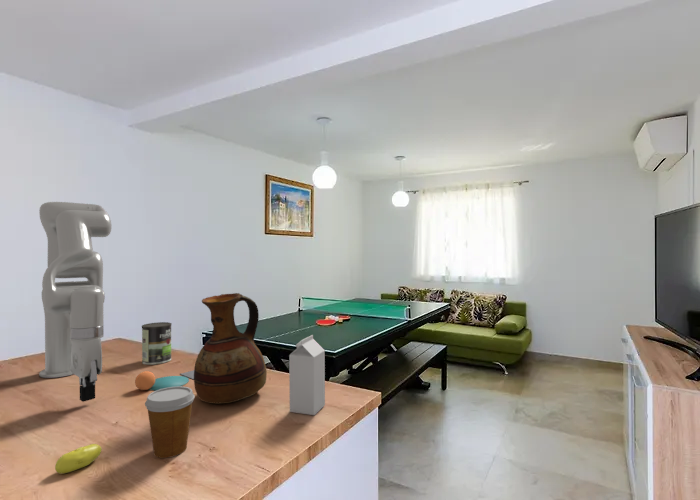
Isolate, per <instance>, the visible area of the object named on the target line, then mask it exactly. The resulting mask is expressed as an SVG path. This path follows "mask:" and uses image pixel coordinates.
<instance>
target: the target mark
mask: <svg viewBox="0 0 700 500" xmlns="http://www.w3.org/2000/svg"><path fill="white" fill-rule="evenodd" d="M189 379H190V378H188V377H185V376H183V375H169V376H168V375H167V376H162V377H158V378H155V383H154V385H153V386H152V387H151V388H150V389H148V391H157V390H159V389H163V388H168V387H177V386H182V387H184V385H186V384H188V383H189V382H190V380H189Z"/></svg>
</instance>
